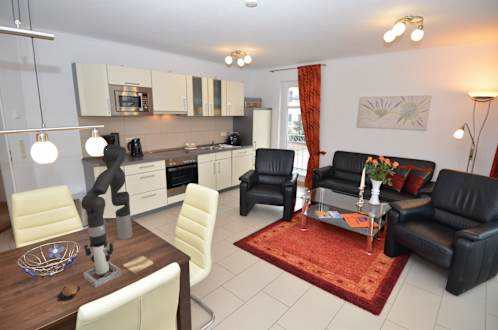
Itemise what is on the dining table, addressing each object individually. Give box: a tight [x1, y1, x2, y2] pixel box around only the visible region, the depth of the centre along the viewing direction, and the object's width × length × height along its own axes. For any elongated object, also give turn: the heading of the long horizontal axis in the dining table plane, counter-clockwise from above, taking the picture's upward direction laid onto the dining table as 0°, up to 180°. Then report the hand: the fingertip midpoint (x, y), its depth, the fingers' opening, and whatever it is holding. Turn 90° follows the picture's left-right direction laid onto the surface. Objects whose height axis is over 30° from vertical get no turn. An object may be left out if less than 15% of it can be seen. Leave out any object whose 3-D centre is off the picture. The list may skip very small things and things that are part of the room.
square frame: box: [83, 260, 122, 289], centre depth 138 cm, size 13×13×4 cm
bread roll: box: [57, 284, 81, 302], centre depth 125 cm, size 11×8×4 cm
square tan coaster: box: [122, 255, 154, 275], centre depth 149 cm, size 12×12×1 cm
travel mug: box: [91, 242, 110, 276], centre depth 136 cm, size 6×7×20 cm
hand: (101, 261), depth 137 cm, fingers closed on travel mug, 6 cm apart
